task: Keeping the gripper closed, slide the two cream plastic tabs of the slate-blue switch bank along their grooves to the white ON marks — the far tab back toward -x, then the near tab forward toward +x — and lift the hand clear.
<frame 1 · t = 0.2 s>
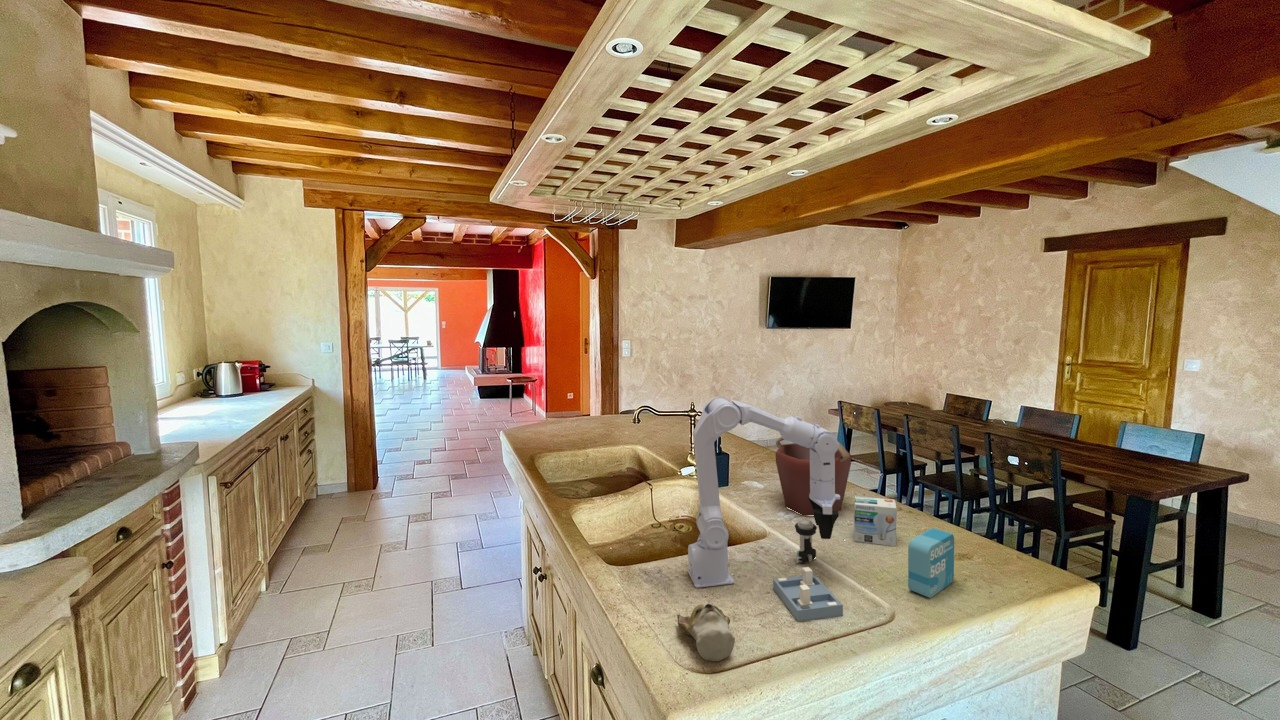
hand: (822, 531, 127), 10 cm above the worktop, tool pointing down, fingers open, 7 cm apart
bucket: (813, 507, 168), on the worktop
data package: (931, 587, 118), on the worktop
tab near: (804, 597, 111), point 3 cm above the worktop, slide at -2.0 cm
tab far: (807, 578, 118), point 3 cm above the worktop, slide at 2.0 cm
light bulb box: (874, 539, 143), on the worktop
dip bank: (806, 601, 115), on the worktop
ceramic sculpture: (709, 645, 102), on the worktop
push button: (804, 561, 133), on the worktop
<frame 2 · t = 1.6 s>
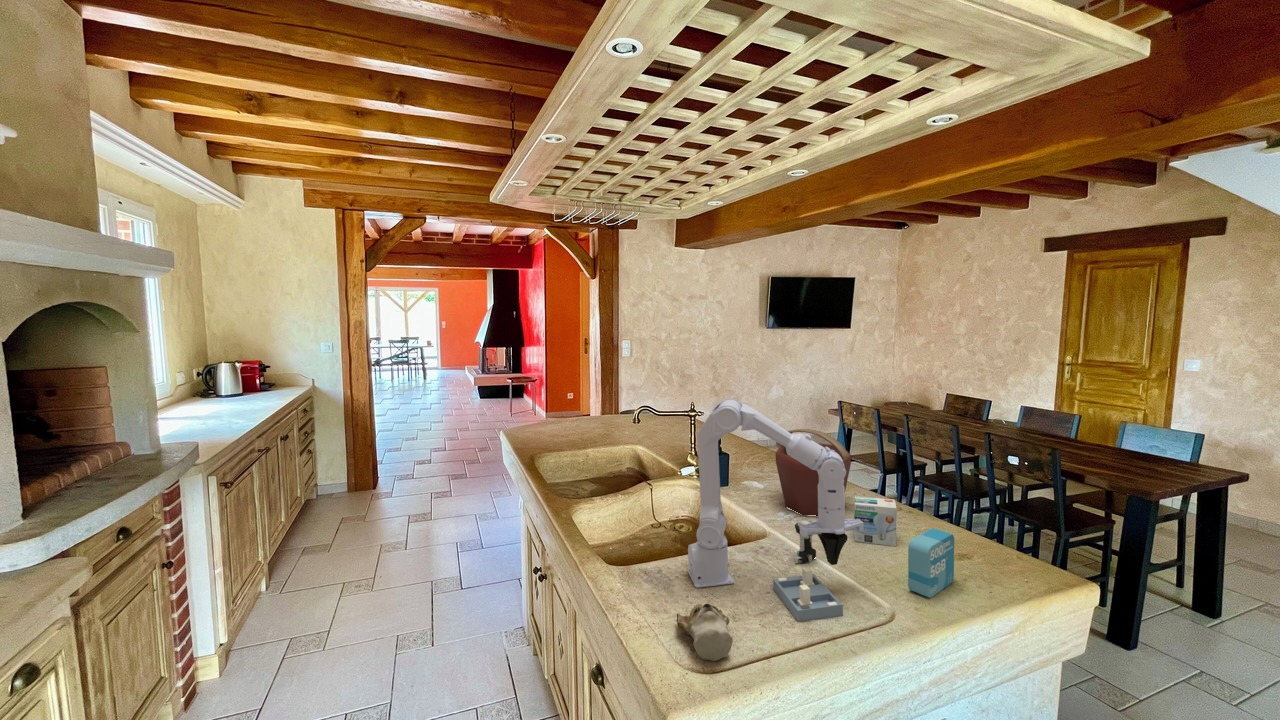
hand: (832, 562, 119), 6 cm above the worktop, tool pointing down, fingers closed
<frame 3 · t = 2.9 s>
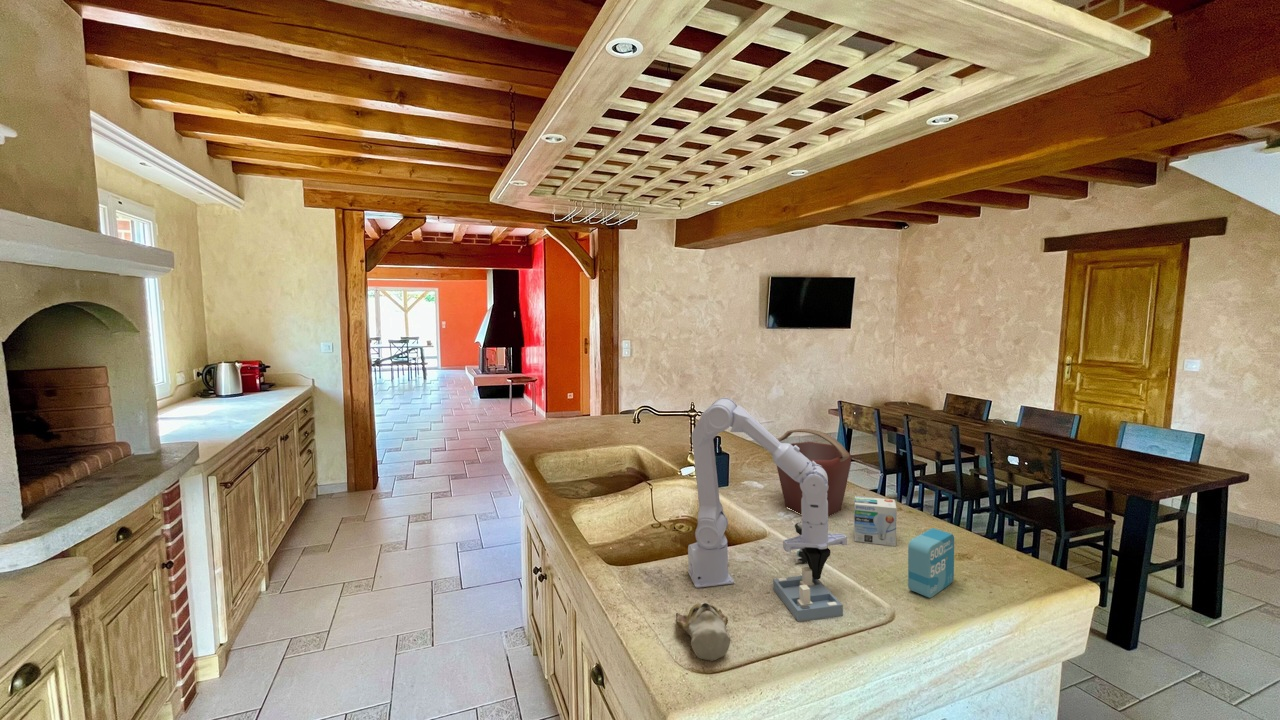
hand: (815, 577, 118), 3 cm above the worktop, tool pointing down, fingers closed
tab far: (807, 578, 118), point 3 cm above the worktop, slide at 1.9 cm, touching gripper
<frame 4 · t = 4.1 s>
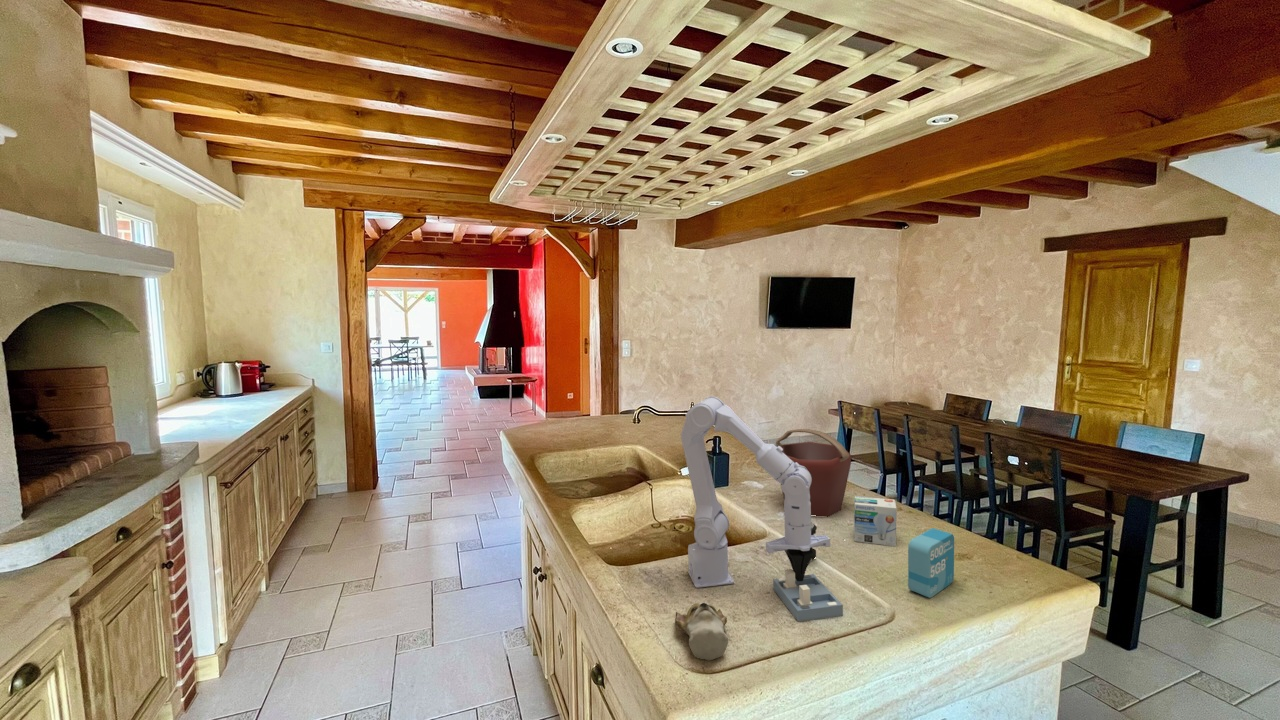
hand: (798, 579, 118), 3 cm above the worktop, tool pointing down, fingers closed
tab far: (790, 580, 118), point 3 cm above the worktop, slide at -2.1 cm, touching gripper
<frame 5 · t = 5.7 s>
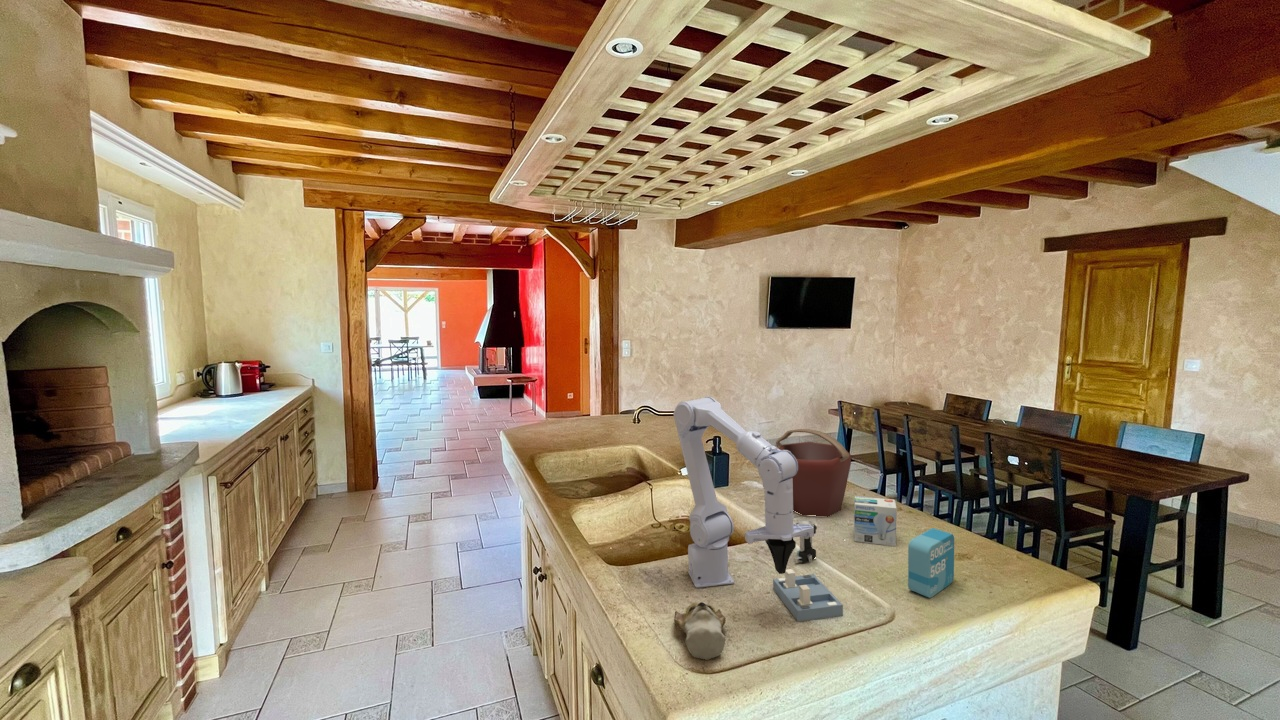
hand: (780, 571, 110), 9 cm above the worktop, tool pointing down, fingers closed
tab far: (790, 580, 118), point 3 cm above the worktop, slide at -2.1 cm
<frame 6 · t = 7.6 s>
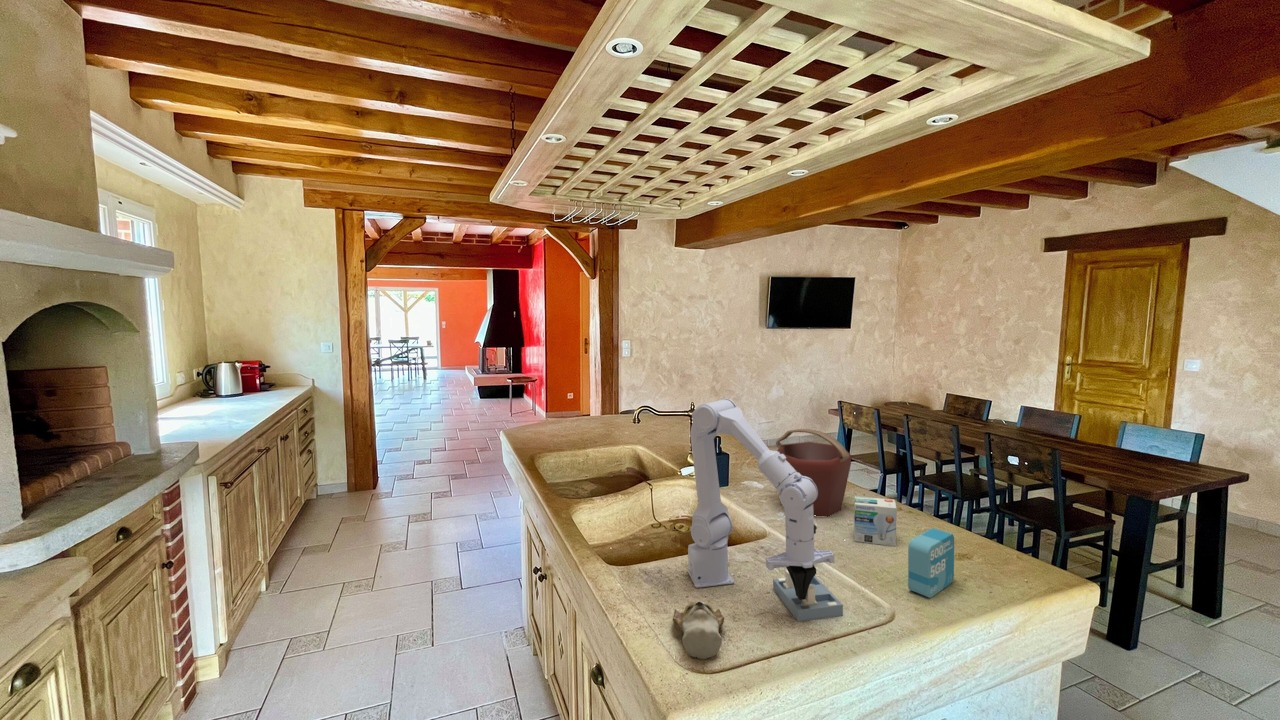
hand: (800, 597, 110), 3 cm above the worktop, tool pointing down, fingers closed
tab near: (809, 596, 111), point 3 cm above the worktop, slide at -0.9 cm, touching gripper
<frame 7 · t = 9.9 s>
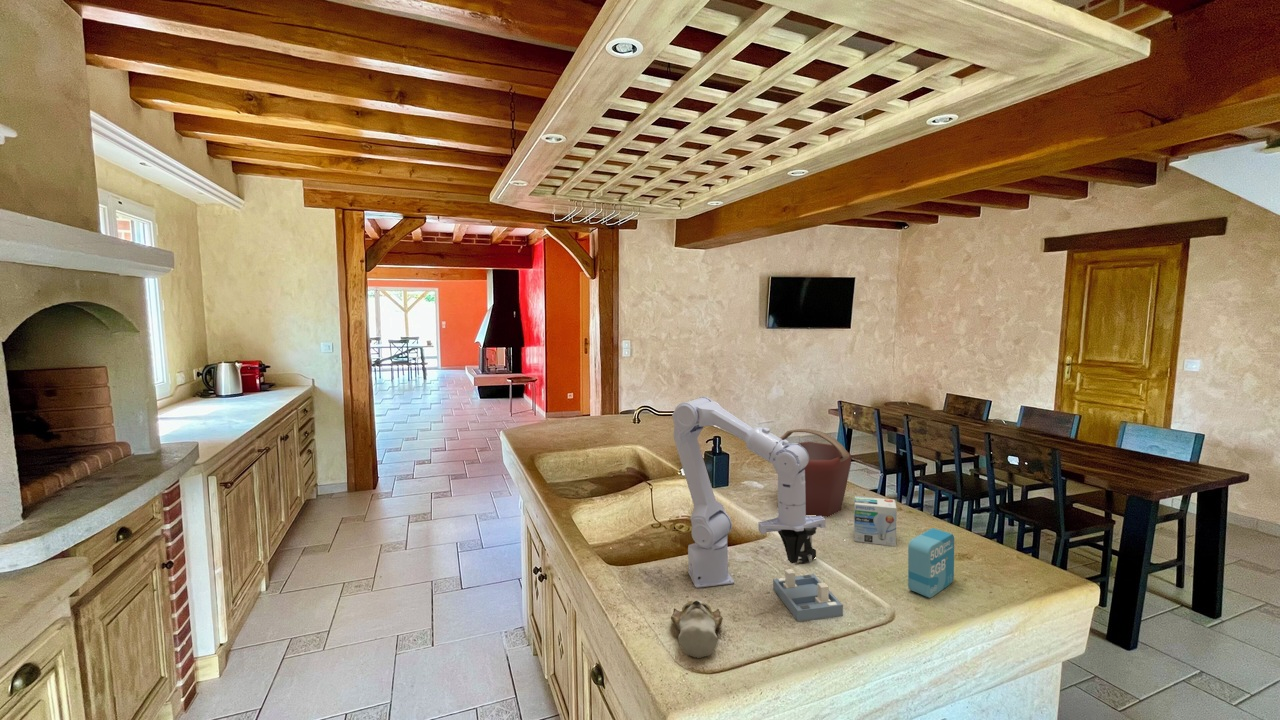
hand: (792, 561, 113), 10 cm above the worktop, tool pointing down, fingers closed
tab near: (822, 594, 111), point 3 cm above the worktop, slide at 2.1 cm
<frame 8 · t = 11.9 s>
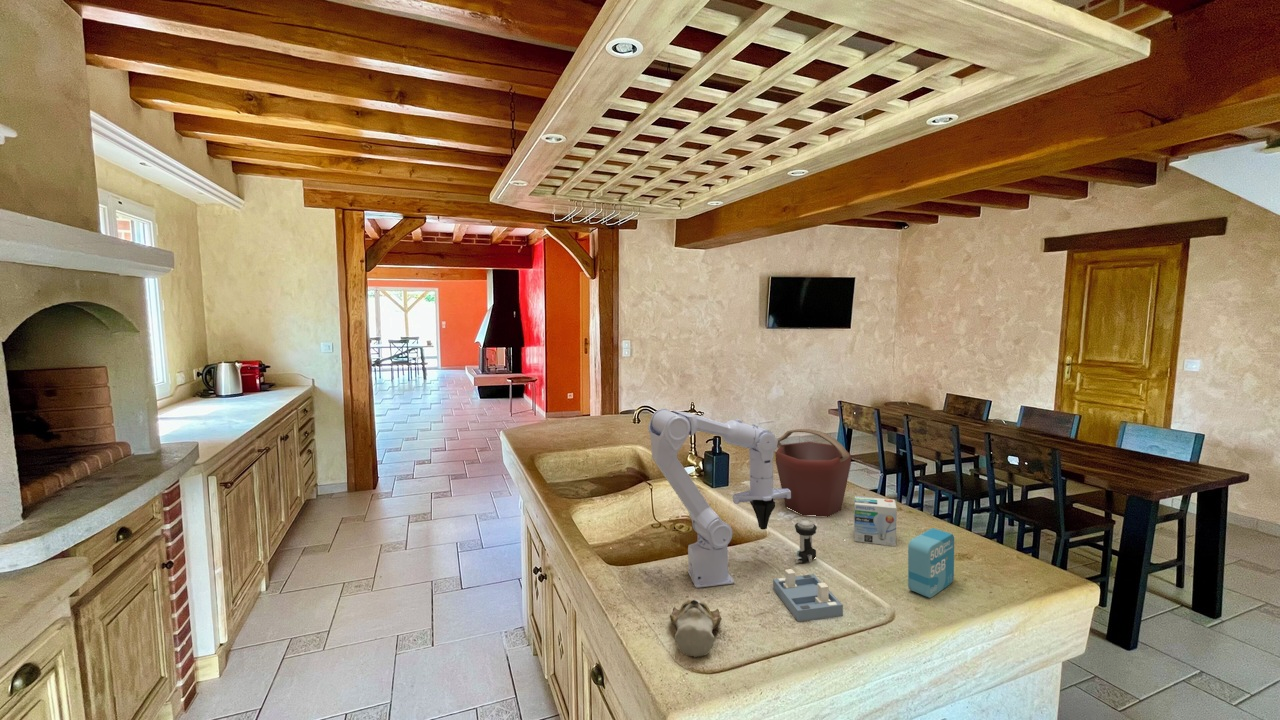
hand: (762, 527, 131), 10 cm above the worktop, tool pointing down, fingers closed
at the end: tab far slide at -2.1 cm; tab near slide at 2.1 cm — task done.
